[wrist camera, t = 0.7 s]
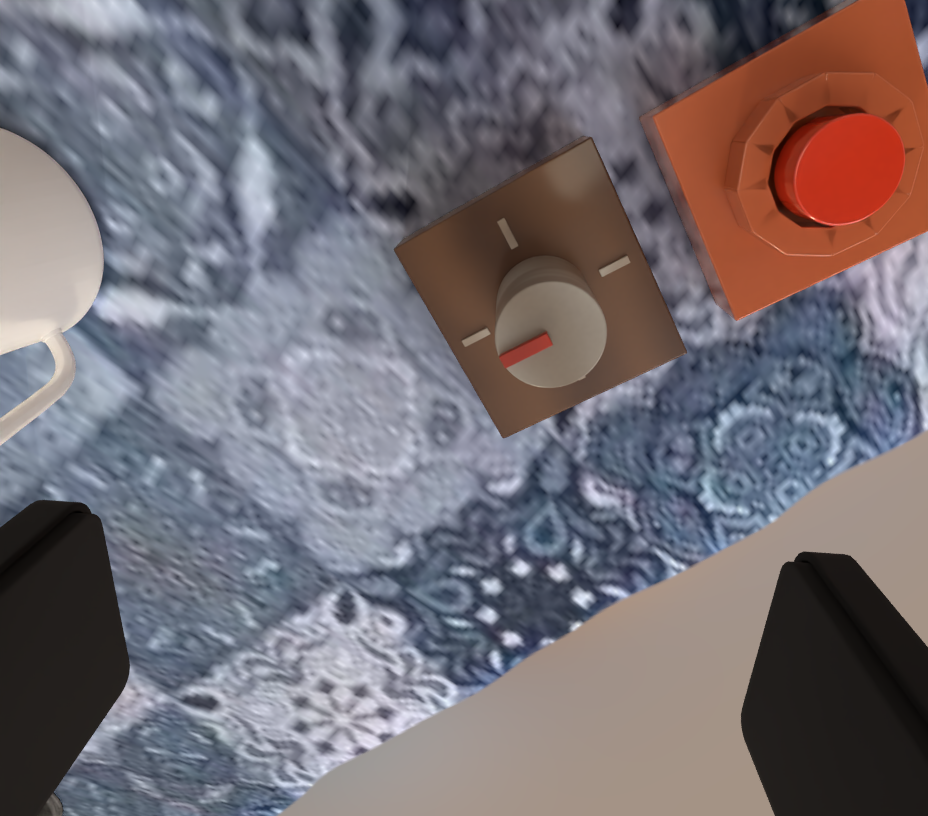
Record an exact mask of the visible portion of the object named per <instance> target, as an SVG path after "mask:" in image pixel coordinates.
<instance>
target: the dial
mask: <svg viewBox="0 0 928 816" xmlns="http://www.w3.org/2000/svg"><path fill="white" fill-rule="evenodd" d="M606 339H607V326H606V320H605V317H604V314H603V312H602V309H601V307H600V306H599V304H598V302H597V300H596V298H595V296H594V294H593V292H592V291H591V289H590V287H589V285H588V283H587V281H586V279H585V278H584V276H583V275H582V273H581V272H580V271H579V270H578V269H577V268H576V267H575V266H574V265H573V264H571V263H570V262H568V261H566V260H564V259H561V258H559V257H554V256H536V257H532V258H528V259H526V260H524V261H522V262H520V263H519V264H517V265H516V266H514V267H513V268H512V269H511V270H510V271H509V272H508V273H507V274H506V276H505V277H504V279H503V280H502V282H501V284H500V287H499V289H498V294H497V301H496V319H495V344H496V349H497V352H498V355H499V358H500V360H501V362H502V364H503V366H504V368H507V370H508V371H509V372H510V373H511V374H512V375H514V376H515V377H516V378H518V379H519V380H521V381H523V382H525V383H527V384H530V385H532V386H537V387H543V388H555V387H562V386H565V385H569V384H571V383H574V382H576V381H577V380H579V379H581V378H582V377H584V376H585V375H587V374H588V373H589V372H590V371H591V370H592V369H593V368H594V366H595V365H596V364H597V362H598V361H599V359H600V358H601V355H602V353H603V351H604V348H605V345H606Z"/></svg>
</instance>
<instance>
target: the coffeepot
mask: <svg viewBox="0 0 928 816" xmlns="http://www.w3.org/2000/svg"><path fill="white" fill-rule="evenodd" d="M103 265H104V258H103V246H102V240H101V236H100V232H99V228H98V225H97V222H96V219H95V217H94V214H93V212H92V210H91V208H90V206H89V204H88V202H87V200H86V198H85V197H84V195H83V193H82V192H81V190H80V189H79V187H78V186H77V184H76V183H75V182H74V181H73V179H72V178H71V177H70V176H69V174H68V173H67V172H66V171H65V170H64V169H63V168H62V167H61V166H60V165H59V164H58V163H57V162H56V161H55V160H54V159H53V158H52V157H50V156H49V155H48V154H47V153H45V152H44V151H43V150H42V149H40V148H39V147H37V146H36V145H34V144H33V143H31V142H29V141H28V140H26V139H24V138H22V137H20V136H18V135H16V134H14V133H12V132H10V131H7V130H5V129H2V128H0V355H2V354H5V353H8V352H11V351H14V350H17V349H20V348H23V347H26V346H29V345H32V344H35V343H38V342H41V341H42V342H44V343H46V344H47V345H48V347H49V349H50V350H51V352H52V354H53V357H54V359H55V363H56V369H55V373H54V375H53V377H52V378H51V380H50V381H49V382H48V383H47V384H46V385H45V386H43V387H42V388H41V389H39V390H38V391H37V392H36V393H34V394H33V395H32V396H30V397H29V398H28V399H26V400H25V401H24V402H22V403H21V404H19V405H18V406H17V407H15V408H14V409H12V410H11V411H10V412H8V413H7V414H6V415H4V416H3V417H1V418H0V445H2V444H3V443H4V442H5V441H7V440H8V439H9V438H11V437H12V436H13V435H14V434H16V433H17V432H18V431H19V430H21V429H22V428H23V427H25V426H26V425H27V424H28V423H30V422H31V421H32V420H34V419H35V418H36V417H37V416H39V415H40V414H41V413H43V412H44V411H45V410H46V409H48V408H49V407H50V406H51V405H52V404H53V403H55V402H56V401H57V400H58V399H59V398H61V397H62V396H63V395H64V394H65V392H66V391H67V390H68V388H69V387H70V385H71V384H72V382H73V379H74V377H75V370H76V365H75V358H74V355H73V352H72V350H71V348H70V345H69V344H68V342H67V340H66V339H65V337H64V336H63V334H62V333H63V332H65V331H66V330H68V329H69V328H71V327H72V326H74V325H75V324H76V323H77V322H79V321H80V320H81V319H82V318H83V316H84V315H85V314H86V313H87V312H88V310H89V309H90V307H91V306H92V304H93V302H94V300H95V298H96V296H97V294H98V291H99V288H100V285H101V281H102V275H103Z"/></svg>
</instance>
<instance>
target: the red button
mask: <svg viewBox="0 0 928 816" xmlns="http://www.w3.org/2000/svg"><path fill="white" fill-rule="evenodd" d="M904 166H905V150H904V145H903V142H902V139H901V137H900V135H899V133H898V132H897V130H896V129H895V128H894V126H893V125H891V124H890V123H889V122H888V121H886V120H885V119H883V118H881V117H879V116H877V115H873V114H868V113H849V114H830V115H825V116H821V117H818V118H816V119H814V120H811V121H809V122H808V123H806V124H804V125H803V126H802V127H800V128H799V129H798V130H797V131H796V132H795V133H794V134H793V135H792V136H791V137H790V138H789V139H788V140H787V142H786V143H785V145H784V146H783V148H782V150H781V152H780V154H779V156H778V159H777V162H776V166H775V172H774V183H775V189H776V192H777V195H778V197H779V199H780V201H781V203H782V204H783V205H784V206H785V208H786V209H788V210H789V211H790V212H791V213H793V214H795V215H796V216H799V217H801V218H804V219H808V220H811V221H814V222H818V223H821V224H825V225H830V226H844V225H849V224H853V223H856V222H859V221H861V220H864V219H865V218H867V217H869V216H871V215H872V214H874V213H875V212H876V211H878V210H879V209H880V208H881V207H882V206H883V205H884V204H885V203H886V202H887V201H888V200H889V199H890V197H891V196H892V195H893V193H894V192H895V190H896V188H897V187H898V185H899V182H900V180H901V177H902V174H903V171H904Z"/></svg>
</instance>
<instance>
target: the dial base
mask: <svg viewBox="0 0 928 816" xmlns="http://www.w3.org/2000/svg"><path fill="white" fill-rule="evenodd" d="M394 251H395V253H396V255H397V256H398V258H399V260H400V262H401V263H402V265H403V267H404V268H405V270H406V272H407V274H408V275H409V277H410V279H411V281H412V282H413V284H414V286H415V287H416V289H417V291H418V293H419V294H420V296H421V298H422V300H423V301H424V303H425V305H426V306H427V308H428V310H429V312H430V313H431V315H432V317H433V319H434V320H435V322H436V324H437V325H438V327H439V329H440V331H441V332H442V334H443V336H444V338H445V339H446V341H447V343H448V344H449V346H450V348H451V350H452V351H453V353H454V355H455V357H456V358H457V360H458V362H459V363H460V365H461V367H462V369H463V370H464V372H465V374H466V376H467V377H468V379H469V381H470V382H471V384H472V386H473V388H474V389H475V391H476V393H477V395H478V396H479V398H480V400H481V401H482V403H483V405H484V407H485V408H486V410H487V412H488V414H489V415H490V417H491V419H492V420H493V422H494V424H495V426H496V427H497V429H498V431H499V433H500V434H501V436H502V438H506V437H508V436H510V435H512V434H514V433H517V432H519V431H521V430H523V429H525V428H527V427H529V426H532V425H534V424H536V423H538V422H540V421H542V420H545V419H547V418H549V417H551V416H553V415H555V414H557V413H560V412H562V411H564V410H566V409H568V408H570V407H572V406H575V405H577V404H579V403H581V402H583V401H585V400H587V399H590V398H592V397H594V396H596V395H598V394H600V393H602V392H605V391H607V390H609V389H611V388H613V387H615V386H617V385H620V384H622V383H624V382H626V381H628V380H630V379H632V378H635V377H637V376H639V375H641V374H643V373H645V372H648V371H650V370H652V369H654V368H656V367H658V366H660V365H663V364H665V363H667V362H669V361H671V360H673V359H675V358H678V357H680V356H682V355H684V354H686V353H687V350H686V348H685V346H684V343H683V341H682V339H681V337H680V334H679V332H678V330H677V328H676V325H675V323H674V321H673V319H672V316H671V314H670V312H669V310H668V307H667V305H666V303H665V301H664V298H663V296H662V294H661V292H660V289H659V287H658V285H657V283H656V280H655V278H654V276H653V274H652V271H651V269H650V267H649V265H648V262H647V260H646V258H645V256H644V253H643V251H642V249H641V247H640V244H639V242H638V240H637V238H636V235H635V233H634V231H633V229H632V226H631V224H630V222H629V220H628V217H627V215H626V213H625V211H624V208H623V206H622V204H621V202H620V199H619V197H618V195H617V193H616V190H615V188H614V186H613V184H612V181H611V179H610V177H609V175H608V172H607V170H606V168H605V166H604V163H603V161H602V159H601V157H600V154H599V152H598V150H597V148H596V145H595V143H594V141H593V139H592V137H586V136H582V137H581V138H579V139H577V140H575V141H574V142H572V143H570V144H568V145H567V146H565V147H563V148H561V149H560V150H558V151H556V152H554V153H553V154H551V155H549V156H547V157H545V158H544V159H542V160H540V161H538V162H537V163H535V164H533V165H531V166H530V167H528V168H526V169H524V170H523V171H521V172H519V173H517V174H516V175H514V176H512V177H510V178H509V179H507V180H505V181H503V182H502V183H500V184H498V185H496V186H495V187H493V188H491V189H489V190H488V191H486V192H484V193H482V194H481V195H479V196H477V197H475V198H474V199H472V200H470V201H468V202H467V203H465V204H463V205H461V206H460V207H458V208H456V209H454V210H453V211H451V212H449V213H447V214H446V215H444V216H442V217H440V218H439V219H437V220H435V221H433V222H432V223H430V224H428V225H426V226H425V227H423V228H421V229H419V230H418V231H416V232H414V233H412V234H411V235H409V236H407V237H405V238H404V239H403V240H402V241H401V242H400V243H399V244H398V245H397V246H396V247H395V248H394ZM536 256H554V257H559V258H561V259H564V260H566V261H568V262H570V263H571V264H573V265H574V266H575V267H576V268H577V269H578V270H579V271H580V272H581V273H582V275H583V276H584V278H585V279H586V281H587V283H588V285H589V287H590V289H591V291H592V292H593V294H594V296H595V298H596V300H597V302H598V304H599V306H600V307H601V309H602V312H603V314H604V317H605V320H606V326H607V339H606V345H605V348H604V351H603V353H602V355H601V358H600V359H599V361H598V362H597V364H596V365H595V366H594V368H593V369H592V370H591V371H590V372H589V373H588V374H587V375H585V376H584V377H582V378H581V379H579V380H577V381H576V382H574V383H571V384H569V385H565V386H562V387H555V388H543V387H537V386H532V385H530V384H527V383H525V382H523V381H521V380H519V379H518V378H516V377H515V376H514V375H512V374H511V373H510V372H509V371H508V370H507V368H504V366H503V364H502V362H501V360H500V358H499V355H498V352H497V349H496V344H495V319H496V301H497V294H498V289H499V287H500V284H501V282H502V280H503V279H504V277H505V276H506V274H507V273H508V272H509V271H510V270H511V269H512V268H513V267H514V266H516V265H517V264H519V263H520V262H522V261H524V260H526V259H528V258H532V257H536Z"/></svg>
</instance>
